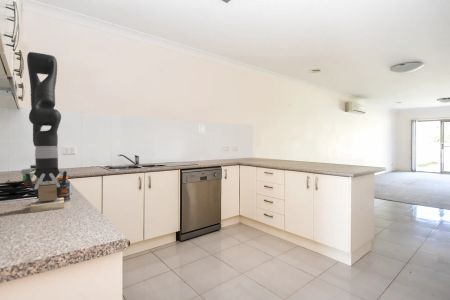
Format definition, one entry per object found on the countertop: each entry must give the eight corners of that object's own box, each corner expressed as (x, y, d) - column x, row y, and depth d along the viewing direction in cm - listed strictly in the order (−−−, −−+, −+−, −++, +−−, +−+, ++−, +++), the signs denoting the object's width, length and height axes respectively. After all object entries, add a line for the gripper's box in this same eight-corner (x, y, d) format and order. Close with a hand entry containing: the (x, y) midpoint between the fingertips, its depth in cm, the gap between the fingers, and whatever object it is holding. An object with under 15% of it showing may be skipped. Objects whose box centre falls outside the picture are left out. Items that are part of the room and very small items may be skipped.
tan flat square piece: (32, 206, 102) (32, 200, 102) (63, 202, 108) (63, 197, 108) (30, 212, 94) (30, 205, 94) (64, 208, 100) (64, 201, 100)
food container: (26, 183, 155) (25, 168, 155) (37, 183, 158) (37, 167, 157) (17, 187, 144) (17, 170, 143) (30, 186, 146) (29, 170, 146)
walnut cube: (39, 198, 102) (39, 184, 101) (56, 196, 105) (56, 183, 105) (38, 201, 97) (38, 186, 96) (56, 199, 100) (56, 185, 100)
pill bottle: (55, 202, 108) (54, 177, 108) (55, 200, 113) (54, 176, 113) (71, 200, 112) (70, 176, 111) (70, 198, 117) (69, 175, 116)
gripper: (67, 155, 107) (68, 193, 108) (25, 157, 99) (26, 197, 100) (67, 156, 101) (68, 196, 102) (23, 158, 93) (24, 201, 94)
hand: (47, 196), depth 101 cm, fingers closed on walnut cube, 6 cm apart
